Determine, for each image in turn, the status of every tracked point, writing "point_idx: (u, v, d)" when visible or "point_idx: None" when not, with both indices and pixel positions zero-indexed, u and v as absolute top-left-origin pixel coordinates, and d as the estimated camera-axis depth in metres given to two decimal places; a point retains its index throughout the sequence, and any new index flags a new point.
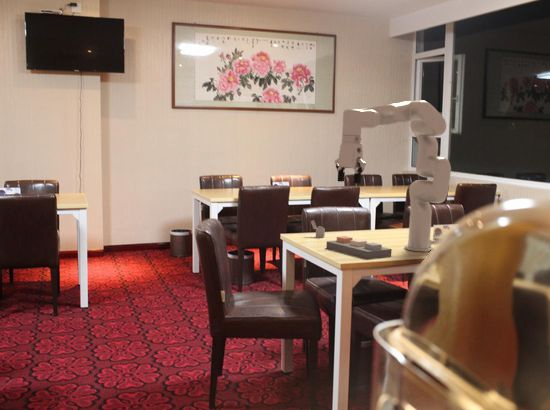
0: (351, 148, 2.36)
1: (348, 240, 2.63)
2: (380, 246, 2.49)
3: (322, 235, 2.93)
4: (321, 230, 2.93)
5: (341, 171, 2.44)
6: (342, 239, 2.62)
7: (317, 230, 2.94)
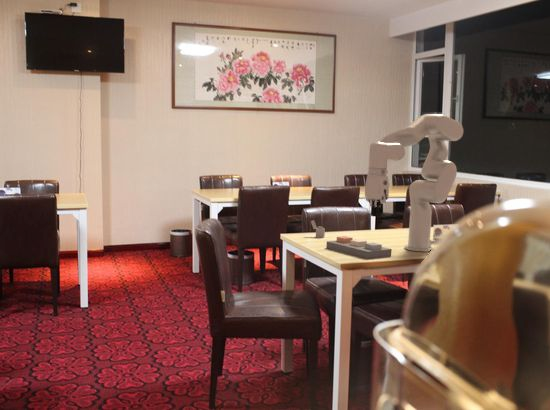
0: (378, 181, 2.44)
1: (348, 240, 2.63)
2: (380, 246, 2.49)
3: (322, 235, 2.93)
4: (321, 230, 2.93)
5: None
6: (342, 239, 2.62)
7: (317, 230, 2.94)
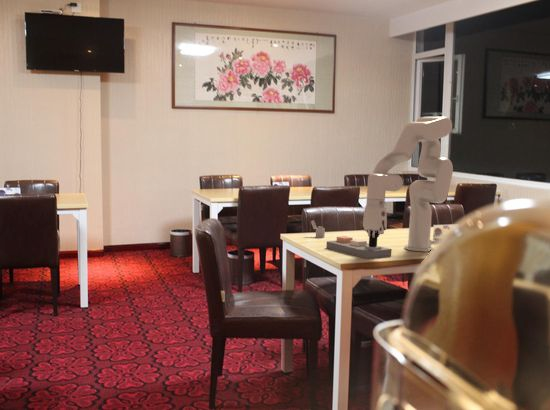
0: (376, 212, 2.45)
1: (348, 240, 2.63)
2: (380, 248, 2.50)
3: (322, 235, 2.93)
4: (321, 230, 2.93)
5: None
6: (342, 239, 2.62)
7: (317, 230, 2.94)
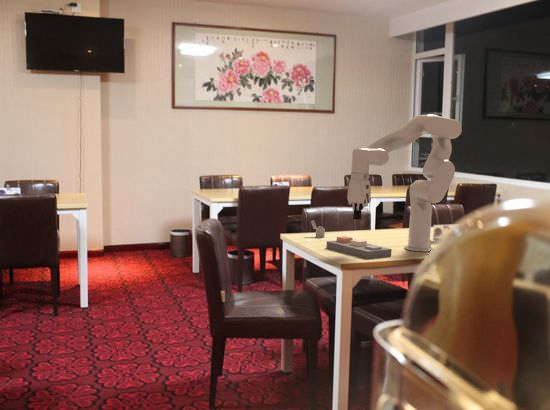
0: (360, 185, 2.52)
1: (348, 240, 2.63)
2: (380, 249, 2.50)
3: (322, 235, 2.93)
4: (321, 230, 2.93)
5: (357, 207, 2.57)
6: (342, 239, 2.62)
7: (317, 230, 2.94)
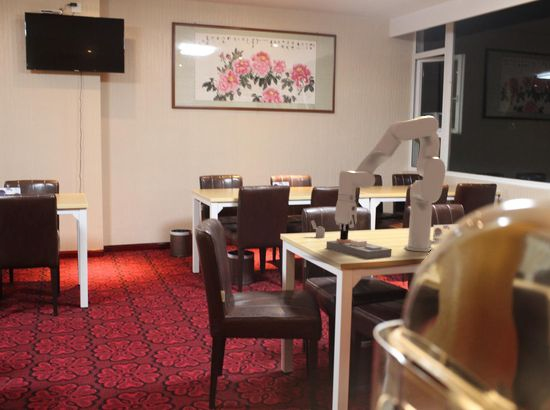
0: (346, 207, 2.60)
1: (348, 242, 2.63)
2: (380, 249, 2.50)
3: (322, 235, 2.93)
4: (321, 230, 2.93)
5: None
6: (342, 241, 2.62)
7: (317, 230, 2.94)
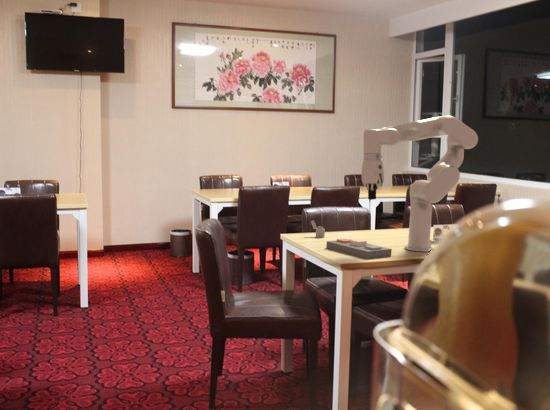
0: (373, 166, 2.55)
1: (348, 242, 2.63)
2: (380, 249, 2.50)
3: (322, 235, 2.93)
4: (321, 230, 2.93)
5: None
6: (342, 241, 2.62)
7: (317, 230, 2.94)
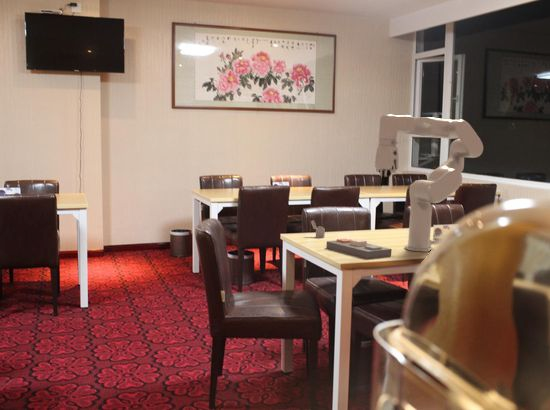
0: (388, 151, 2.53)
1: (348, 242, 2.63)
2: (380, 249, 2.50)
3: (322, 235, 2.93)
4: (321, 230, 2.93)
5: (384, 174, 2.58)
6: (342, 241, 2.62)
7: (317, 230, 2.94)
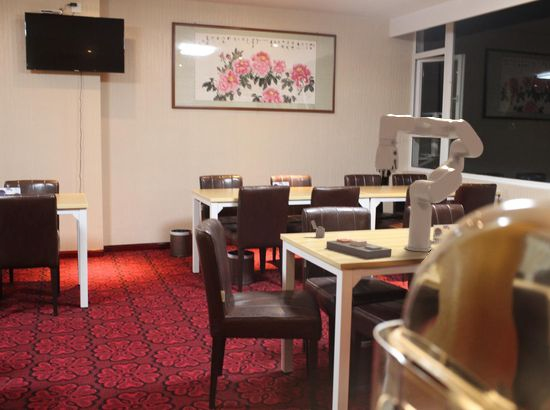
0: (388, 151, 2.53)
1: (348, 242, 2.63)
2: (380, 249, 2.50)
3: (322, 235, 2.93)
4: (321, 230, 2.93)
5: (384, 174, 2.58)
6: (342, 241, 2.62)
7: (317, 230, 2.94)
